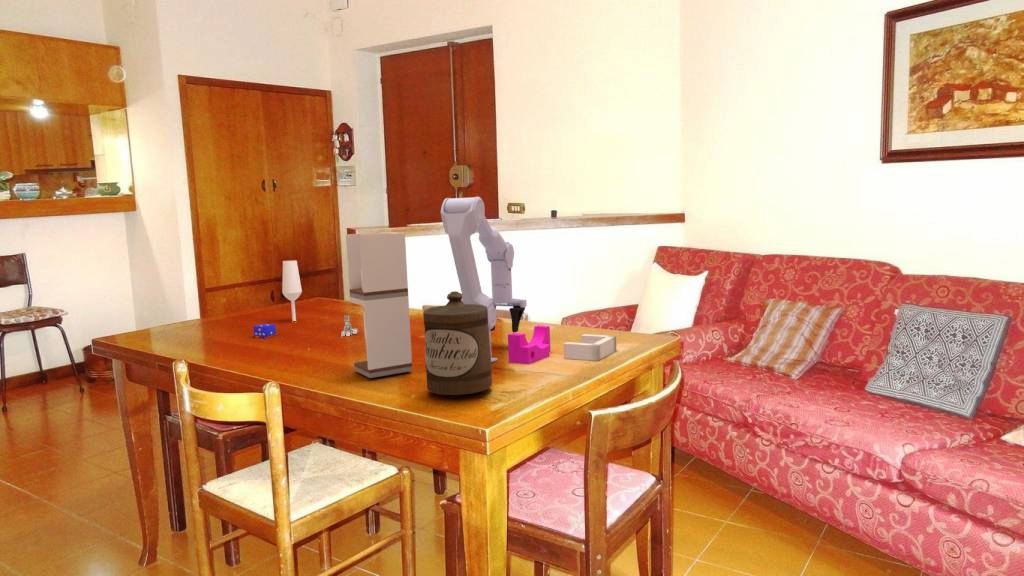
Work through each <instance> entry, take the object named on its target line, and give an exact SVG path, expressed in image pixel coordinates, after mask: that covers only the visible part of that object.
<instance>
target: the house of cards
mask: <svg viewBox="0 0 1024 576" xmlns="http://www.w3.org/2000/svg"><path fill="white" fill-rule="evenodd" d="M344 325H345V326H344V327H343V330H342V331H341V335H340V337H341V338H343V337H342V336H345V335H346V336H350V335H351V336H353V334H357V333H358V334H359V330H358V328H352V324H351V320H350V315H344ZM358 334H357V335H358ZM346 336H345V337H346ZM351 336H350V337H351Z"/></svg>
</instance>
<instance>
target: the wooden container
mask: <svg viewBox="0 0 1024 576" xmlns="http://www.w3.org/2000/svg"><path fill="white" fill-rule="evenodd" d="M446 299H447V300H448V302H447V303H446V304H445V305H439V306H438V305H437V306H433V307H428V308H425V309H423V311H422V312H423V313H422V314H423V316H422V317H423V325H424V348H425V349H424V351H425V352H424V355H425V357H424V358H425V371H426V389H427V390H428V391H429V392H430V393H433V394H437V395H443V396H462V395H464V396H465V395H470V394H478V393H481V392H484V391H487V390H488V389H490V388H491V387H492V385H493V380H492V379H493V376H492V363H491V356H492V351H491V352H490V340H489V327H488V310H487V307H486V306H483V305H475V304H464V303H463V302H462V301H461V299H462V292H459V291H457V290H456V291H450V293H448V294H447V296H446Z"/></svg>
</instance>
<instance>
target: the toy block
mask: <svg viewBox="0 0 1024 576" xmlns="http://www.w3.org/2000/svg"><path fill="white" fill-rule="evenodd" d="M507 349H508V351H507V353H508V363H515V364H525V365H530V364H533V363H535V362H538V361H541V360H543V359H547V358H549V357H550V353H551V327H550V325H542V324H538V325H535V326H533V334H532V337H531V339H530V341H529V342H528V340H527V336H526V333H521V332H512V333H511V332H510V333H509V334H507Z"/></svg>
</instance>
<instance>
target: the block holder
mask: <svg viewBox="0 0 1024 576" xmlns="http://www.w3.org/2000/svg"><path fill="white" fill-rule="evenodd" d="M580 336H581V342H573V341H572V342H569V341H566V342H564V343H563V358H564V359H567V360H579V361H591V362H594V361H595V362H598V361H600V360H602V359H604V358H605V357H607V356H609V355H611V354H613V353H614V352H616V351H617V336H616V335H607V334H605V335H604V334H587V333H584V334H582V335H580Z"/></svg>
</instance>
